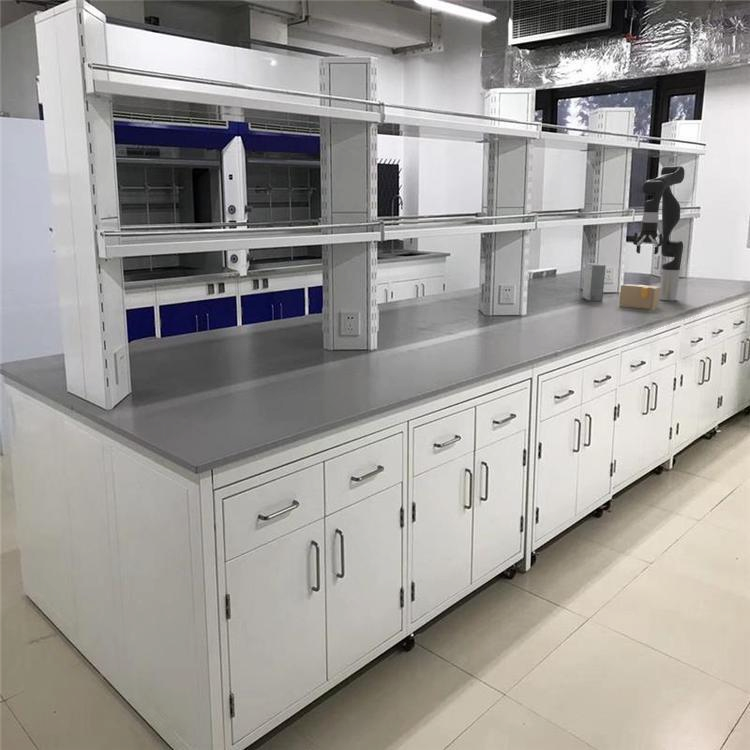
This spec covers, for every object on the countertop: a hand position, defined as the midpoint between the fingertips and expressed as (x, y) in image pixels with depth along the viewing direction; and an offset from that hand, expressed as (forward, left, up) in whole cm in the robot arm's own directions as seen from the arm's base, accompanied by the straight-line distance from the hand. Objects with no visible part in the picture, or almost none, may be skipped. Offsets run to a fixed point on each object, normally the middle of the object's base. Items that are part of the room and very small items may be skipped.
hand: (646, 253), depth 366 cm
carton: (-9, -4, -29) cm, 30 cm away
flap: (-1, -4, -28) cm, 29 cm away
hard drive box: (-19, -34, -29) cm, 49 cm away
